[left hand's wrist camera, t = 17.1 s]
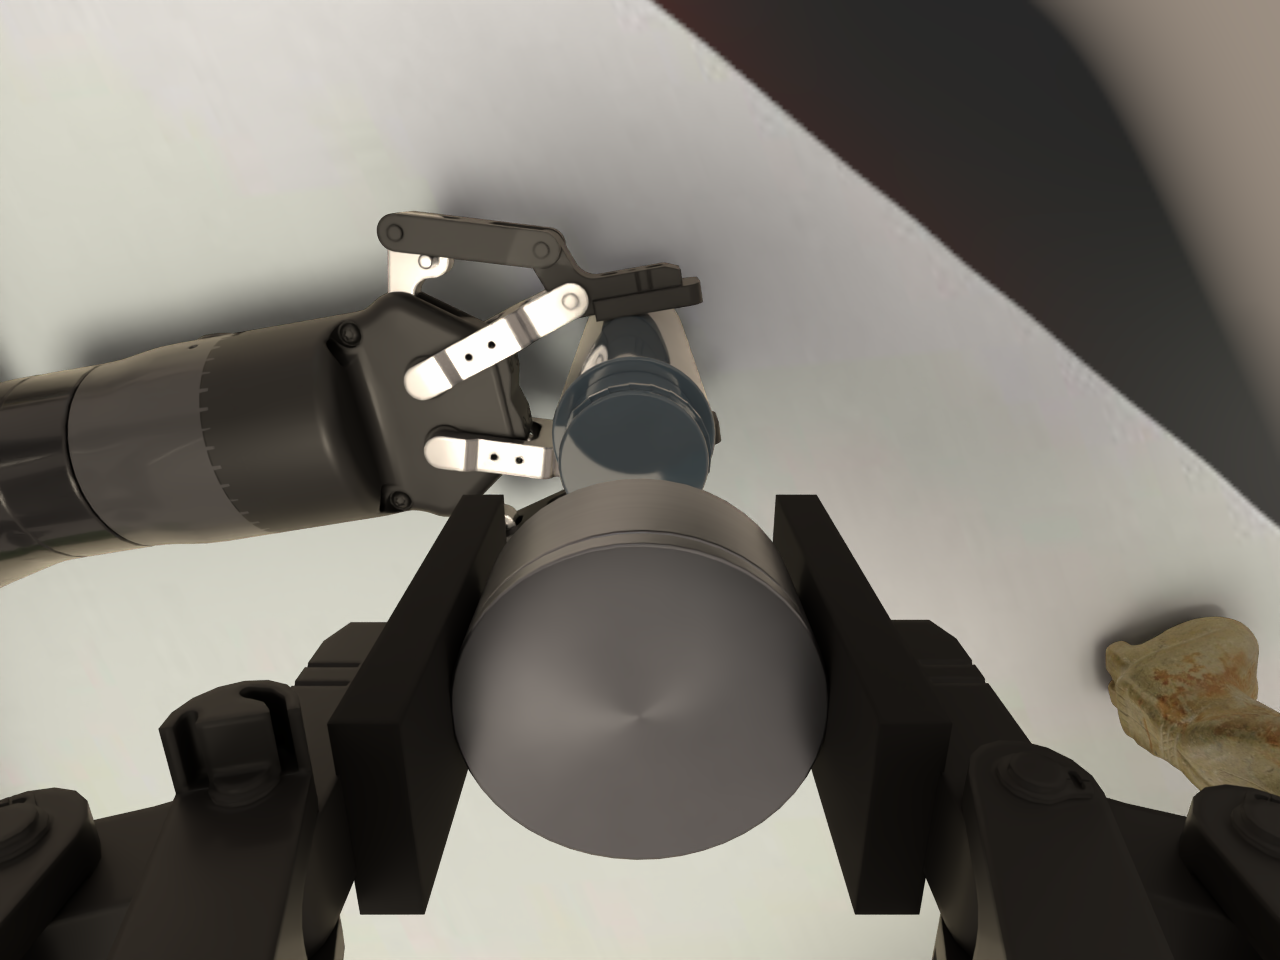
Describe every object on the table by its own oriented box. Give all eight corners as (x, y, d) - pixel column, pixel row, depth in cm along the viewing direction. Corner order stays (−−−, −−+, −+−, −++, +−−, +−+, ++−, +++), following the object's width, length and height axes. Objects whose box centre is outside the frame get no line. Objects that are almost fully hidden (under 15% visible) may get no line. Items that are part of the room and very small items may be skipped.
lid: (440, 517, 12) (394, 593, 9) (765, 443, 11) (795, 503, 9) (534, 773, 13) (513, 888, 11) (818, 717, 13) (855, 825, 11)
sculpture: (1228, 685, 40) (1549, 956, 26) (1088, 714, 40) (1328, 994, 26) (1230, 591, 38) (1580, 829, 24) (1083, 623, 38) (1340, 874, 24)
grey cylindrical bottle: (704, 346, 33) (760, 474, 19) (628, 409, 34) (624, 578, 20) (639, 267, 32) (643, 337, 17) (563, 335, 33) (504, 456, 18)
